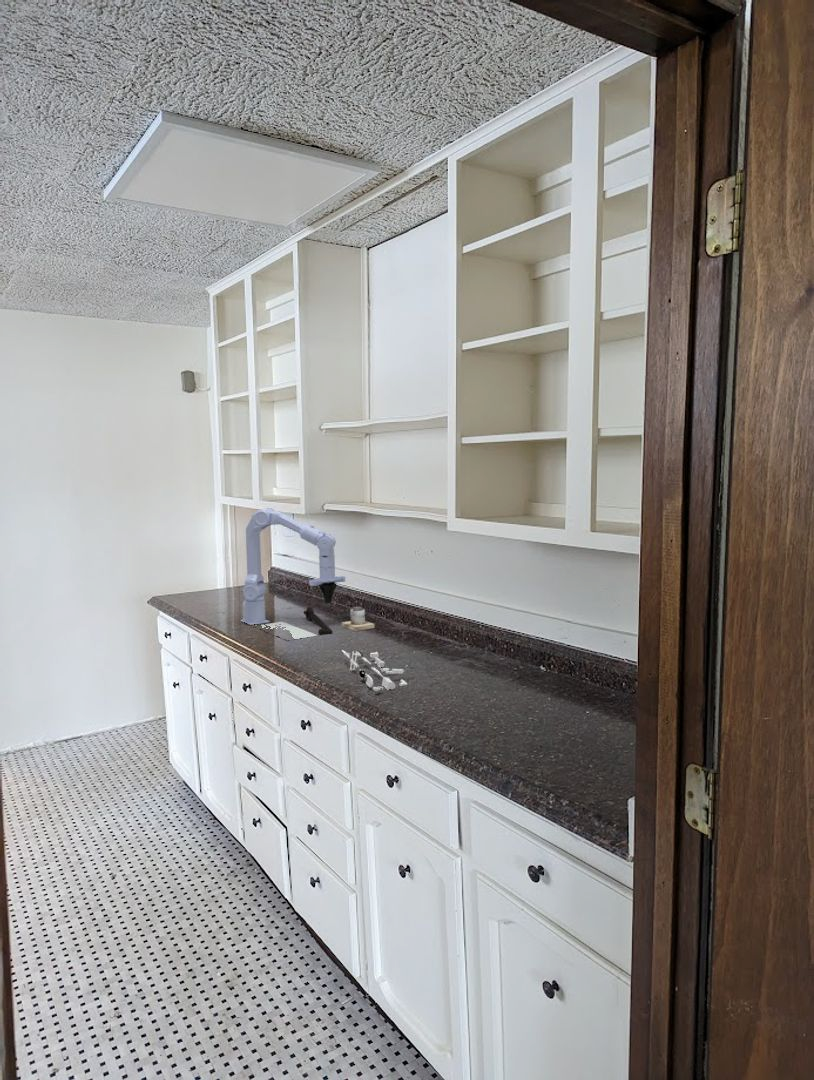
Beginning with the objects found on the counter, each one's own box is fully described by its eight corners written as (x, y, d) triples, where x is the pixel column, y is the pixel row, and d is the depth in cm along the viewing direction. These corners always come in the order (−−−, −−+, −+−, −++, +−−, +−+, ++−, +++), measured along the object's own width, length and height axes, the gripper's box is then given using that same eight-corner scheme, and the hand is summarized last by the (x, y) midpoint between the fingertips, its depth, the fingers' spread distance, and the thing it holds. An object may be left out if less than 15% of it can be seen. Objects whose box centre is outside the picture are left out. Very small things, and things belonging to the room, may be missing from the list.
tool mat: (252, 626, 264) (252, 626, 264) (281, 622, 271) (281, 621, 271) (287, 641, 242) (287, 640, 241) (317, 635, 249) (317, 635, 249)
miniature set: (336, 659, 216) (373, 660, 221) (372, 701, 184) (415, 701, 189) (339, 638, 215) (376, 640, 220) (376, 677, 183) (419, 678, 188)
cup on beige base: (341, 626, 262) (341, 607, 262) (359, 623, 267) (359, 604, 266) (356, 631, 254) (355, 611, 254) (374, 628, 259) (374, 608, 258)
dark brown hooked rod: (318, 641, 250) (296, 618, 277) (332, 640, 252) (309, 617, 279) (319, 626, 249) (297, 605, 276) (333, 625, 251) (309, 604, 278)
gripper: (315, 570, 257) (316, 606, 259) (349, 566, 266) (350, 601, 267) (306, 567, 263) (307, 603, 264) (339, 564, 272) (340, 598, 273)
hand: (328, 602), depth 266 cm, fingers closed
